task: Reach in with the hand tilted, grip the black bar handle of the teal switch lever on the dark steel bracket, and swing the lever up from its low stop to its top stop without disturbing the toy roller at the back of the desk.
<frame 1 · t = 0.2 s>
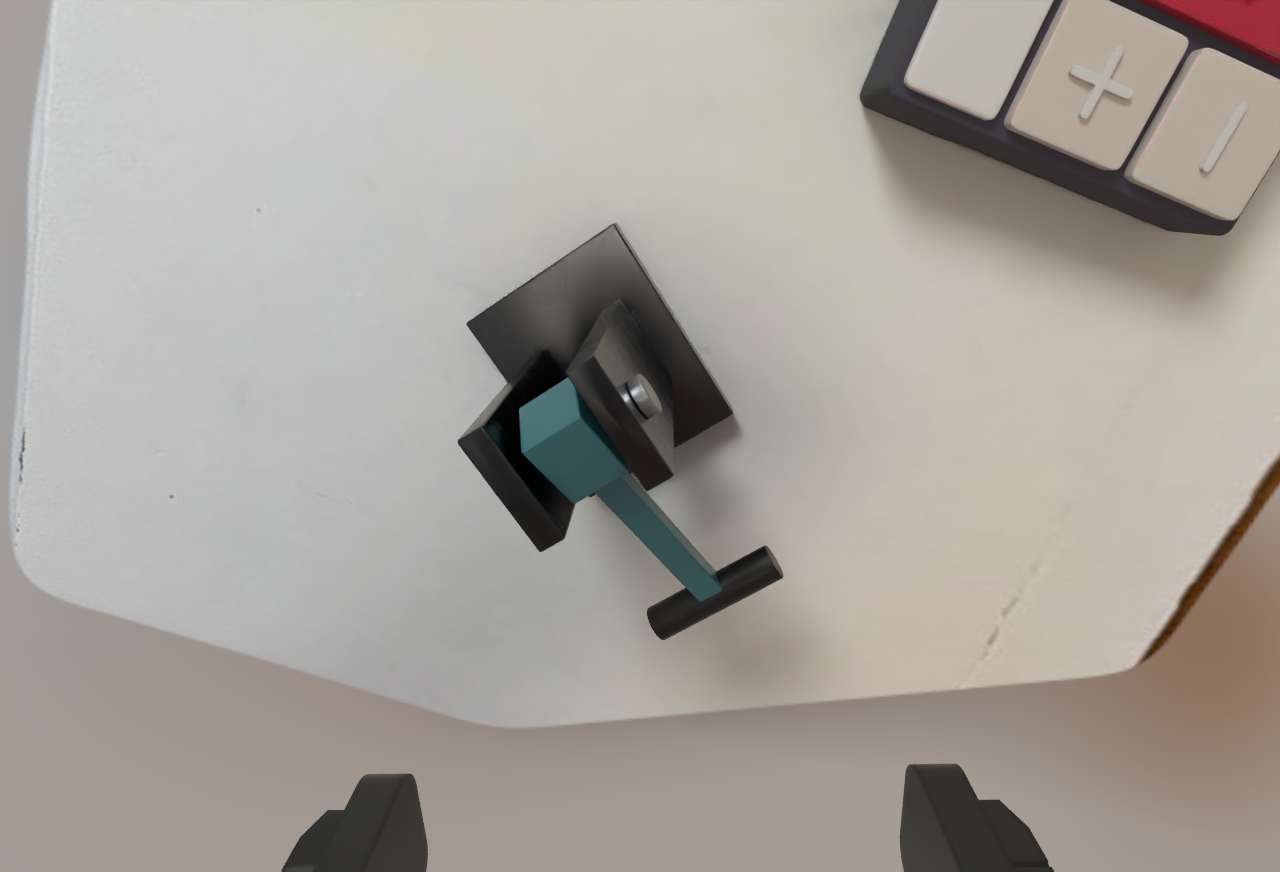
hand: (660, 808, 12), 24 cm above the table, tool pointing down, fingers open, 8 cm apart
calculator: (1086, 33, 29), on the table
bracket: (603, 363, 34), on the table
lever: (646, 519, 26), point 9 cm above the table, hinge at -22.0°
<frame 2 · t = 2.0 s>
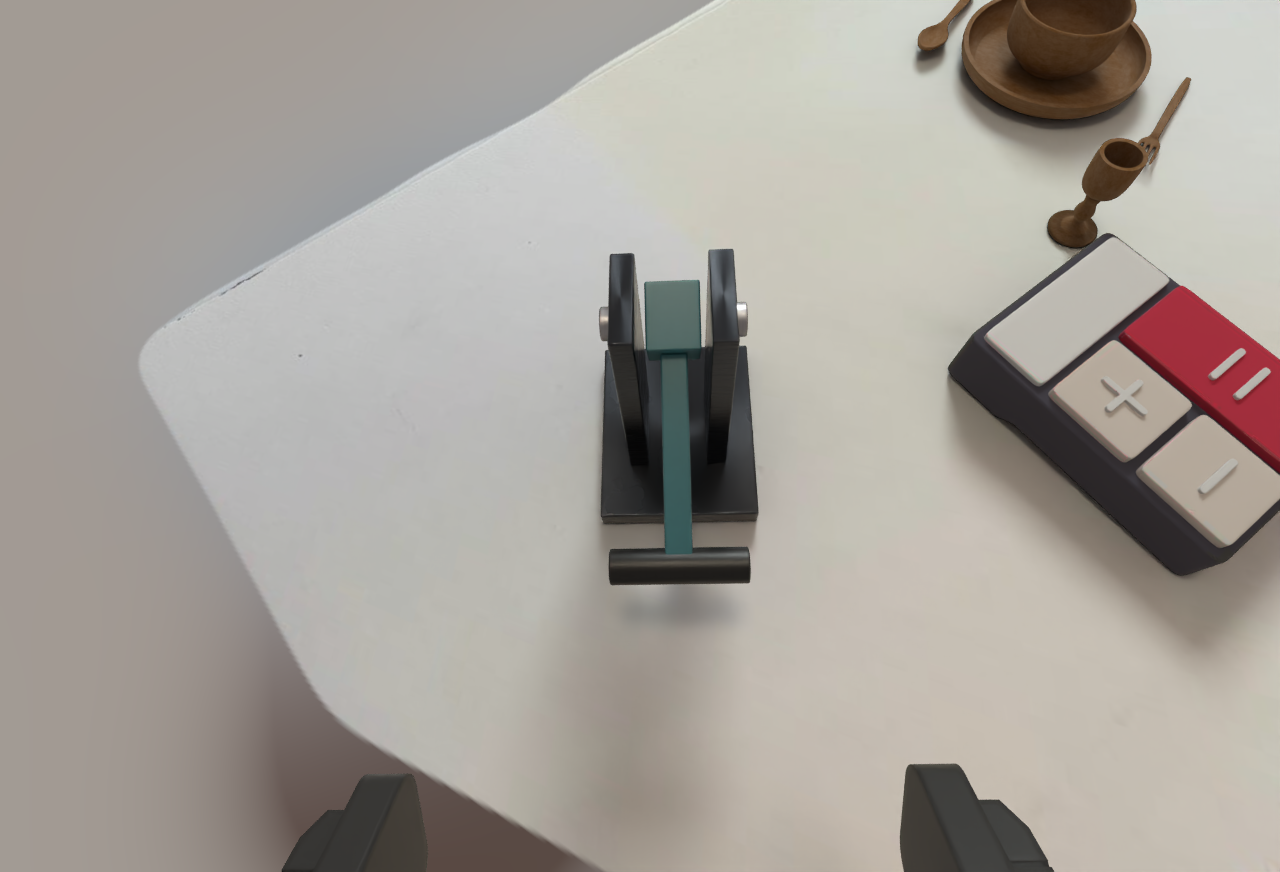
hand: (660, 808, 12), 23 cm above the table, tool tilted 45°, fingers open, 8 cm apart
calculator: (1120, 411, 39), on the table
bracket: (677, 436, 40), on the table
lever: (675, 434, 29), point 9 cm above the table, hinge at -22.0°
place setting: (1021, 106, 49), on the table
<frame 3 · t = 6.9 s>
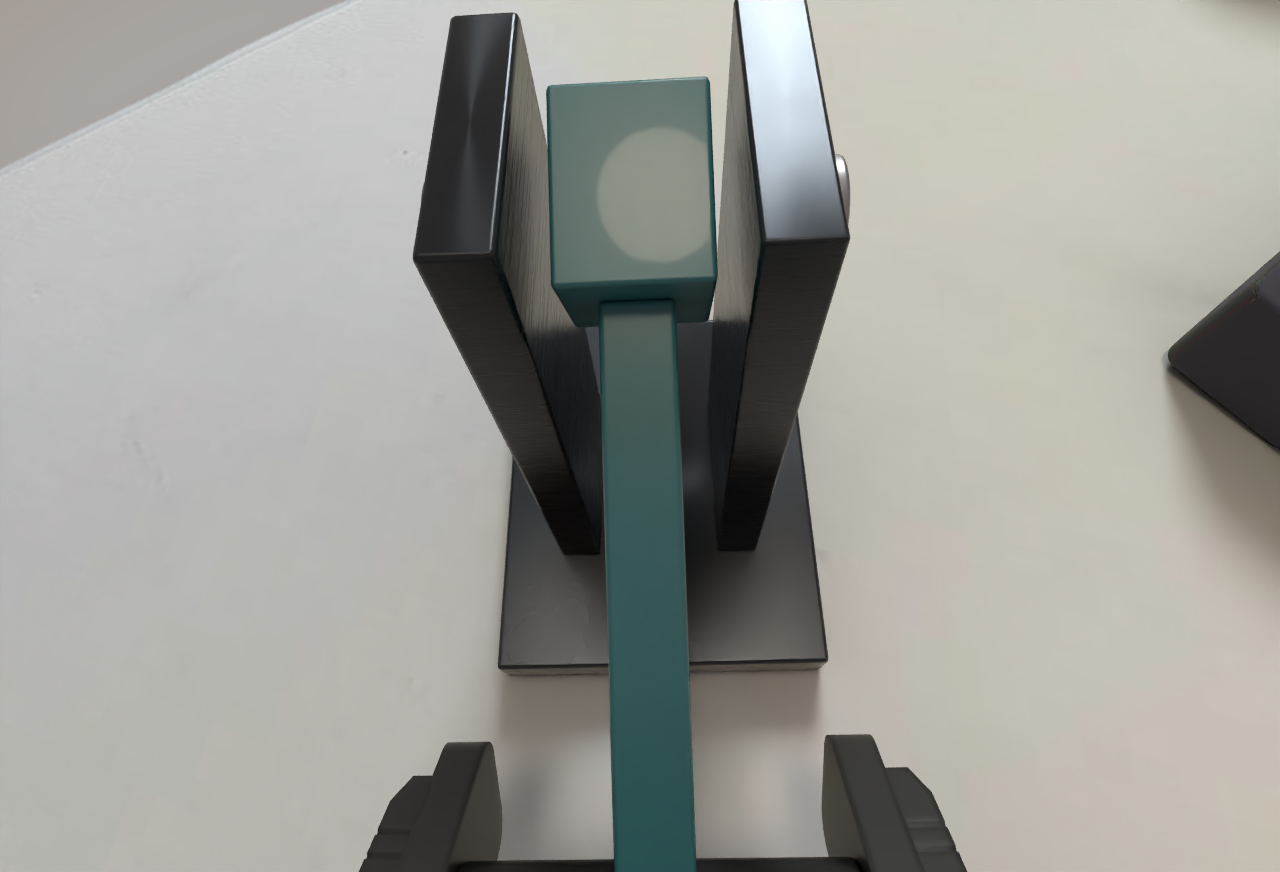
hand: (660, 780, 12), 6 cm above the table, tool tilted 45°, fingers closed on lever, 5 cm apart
bracket: (657, 490, 21), on the table
lever: (645, 530, 10), point 9 cm above the table, hinge at -22.0°, touching gripper
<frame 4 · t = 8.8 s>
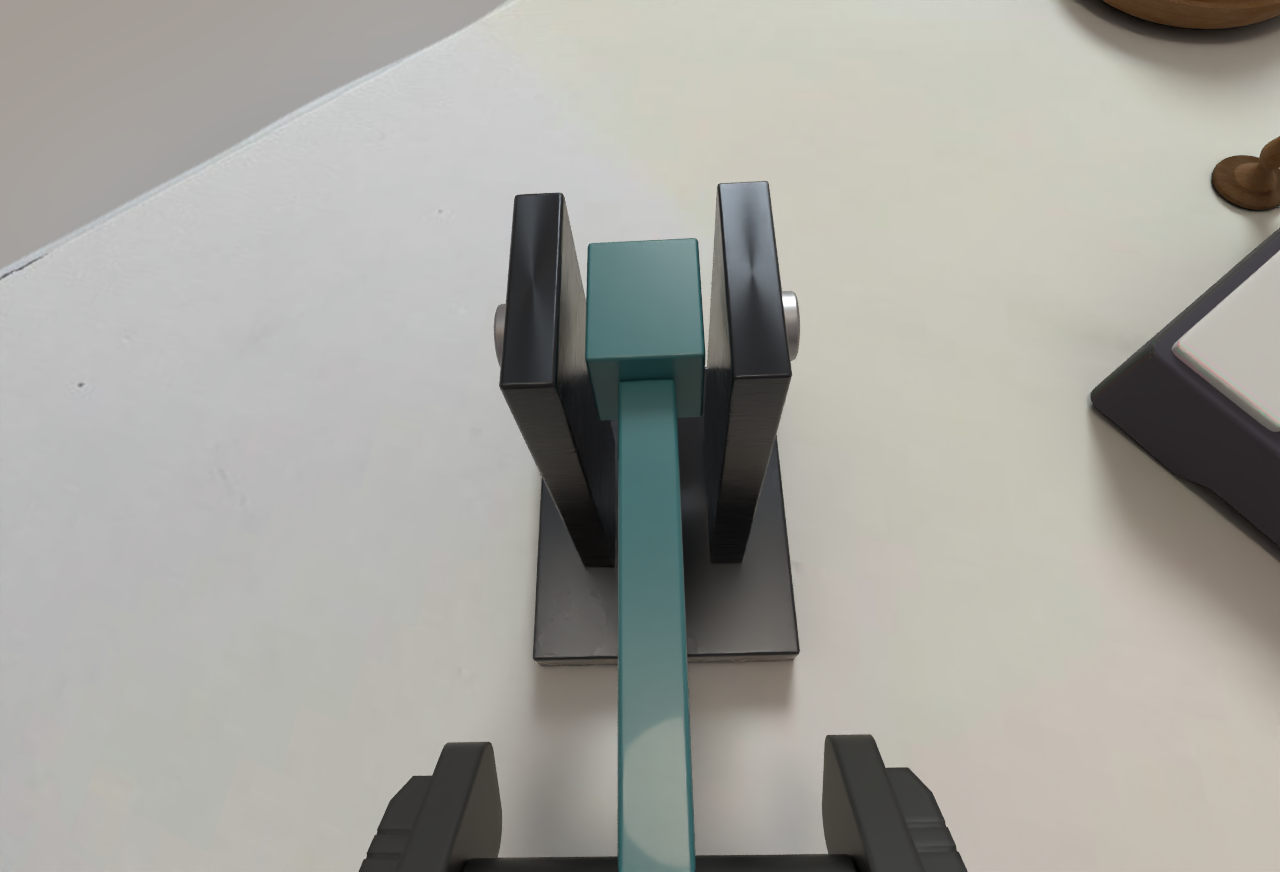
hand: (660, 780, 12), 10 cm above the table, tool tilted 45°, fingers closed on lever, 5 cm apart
bracket: (661, 511, 25), on the table
lever: (651, 551, 13), point 11 cm above the table, hinge at 1.4°, touching gripper
place setting: (1148, 15, 34), on the table
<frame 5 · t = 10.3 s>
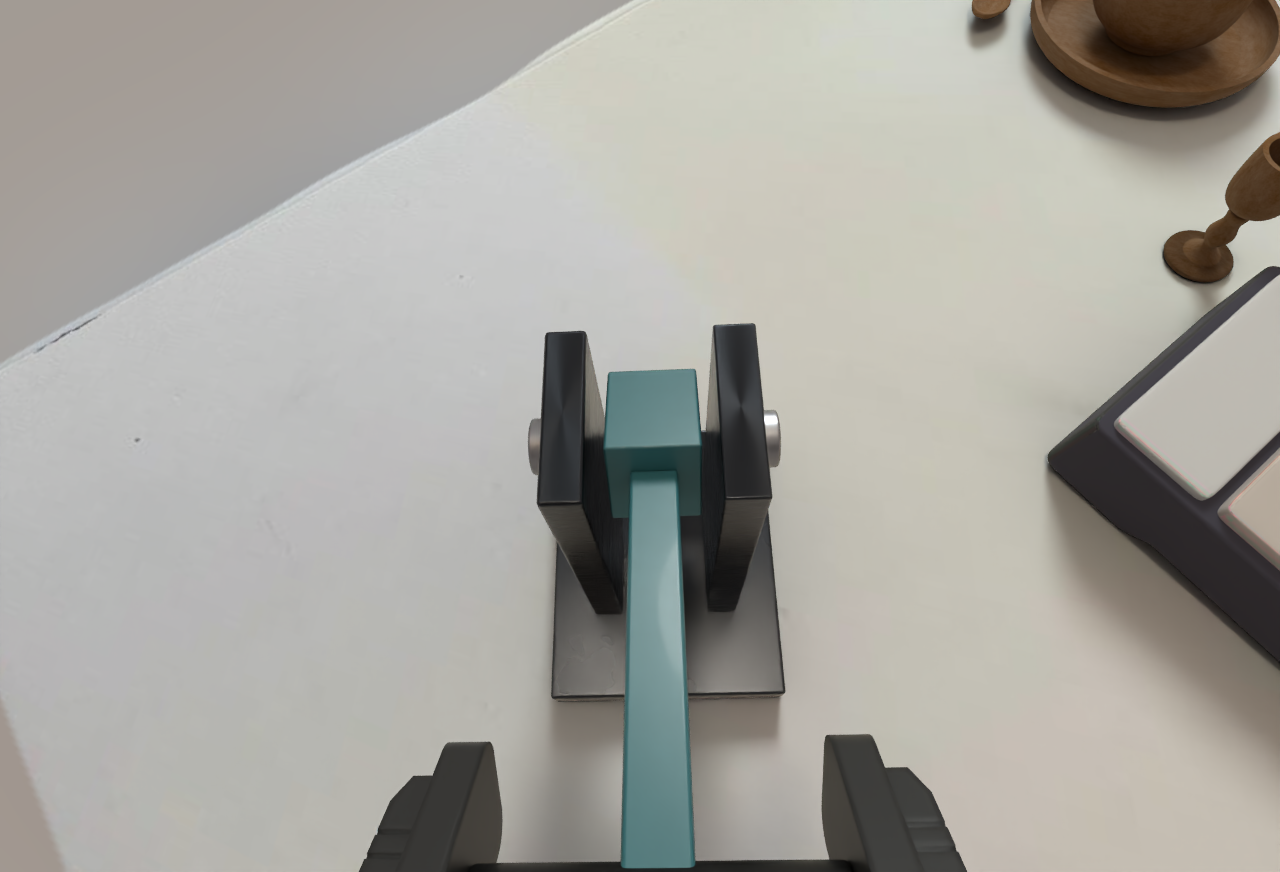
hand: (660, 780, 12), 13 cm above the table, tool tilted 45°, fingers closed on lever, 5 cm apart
bracket: (664, 561, 28), on the table
lever: (655, 604, 14), point 13 cm above the table, hinge at 21.9°, touching gripper
place setting: (1112, 91, 37), on the table
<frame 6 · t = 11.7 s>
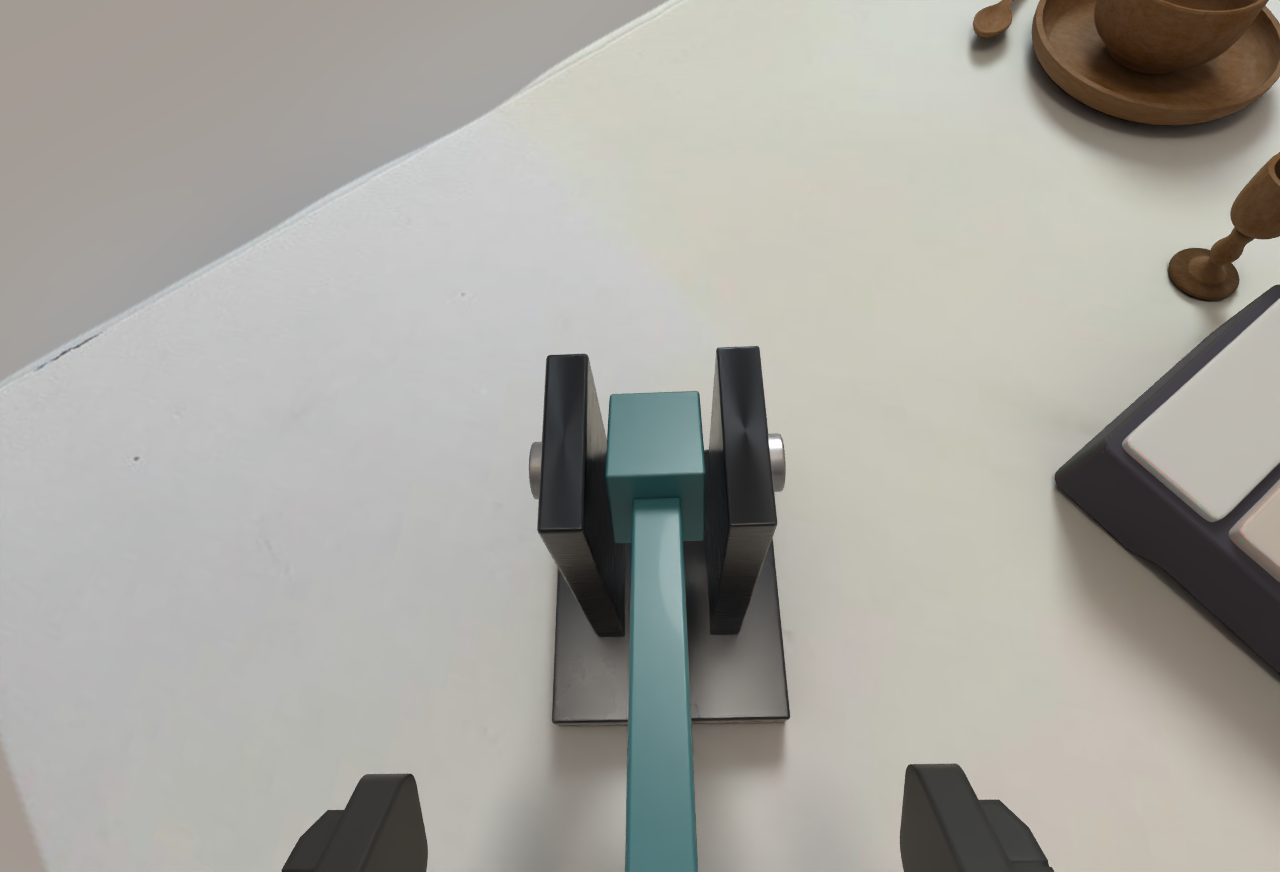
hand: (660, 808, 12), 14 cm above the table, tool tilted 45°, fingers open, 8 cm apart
bracket: (666, 582, 27), on the table
lever: (659, 638, 14), point 13 cm above the table, hinge at 19.8°
place setting: (1114, 109, 37), on the table
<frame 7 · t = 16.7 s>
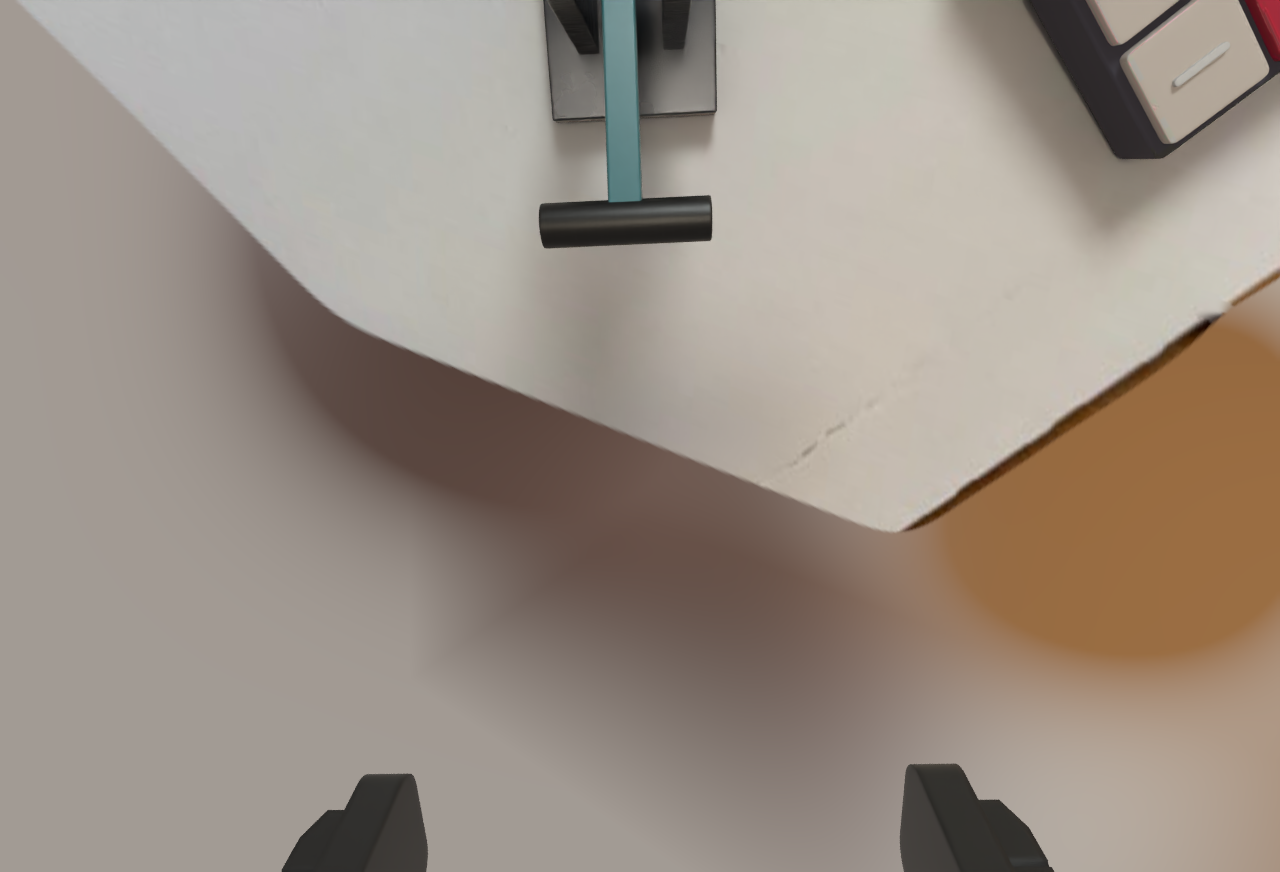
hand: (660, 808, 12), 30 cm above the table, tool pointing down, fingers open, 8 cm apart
bracket: (630, 5, 34), on the table
lever: (620, 63, 24), point 13 cm above the table, hinge at 19.8°
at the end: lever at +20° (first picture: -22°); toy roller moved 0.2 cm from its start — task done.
